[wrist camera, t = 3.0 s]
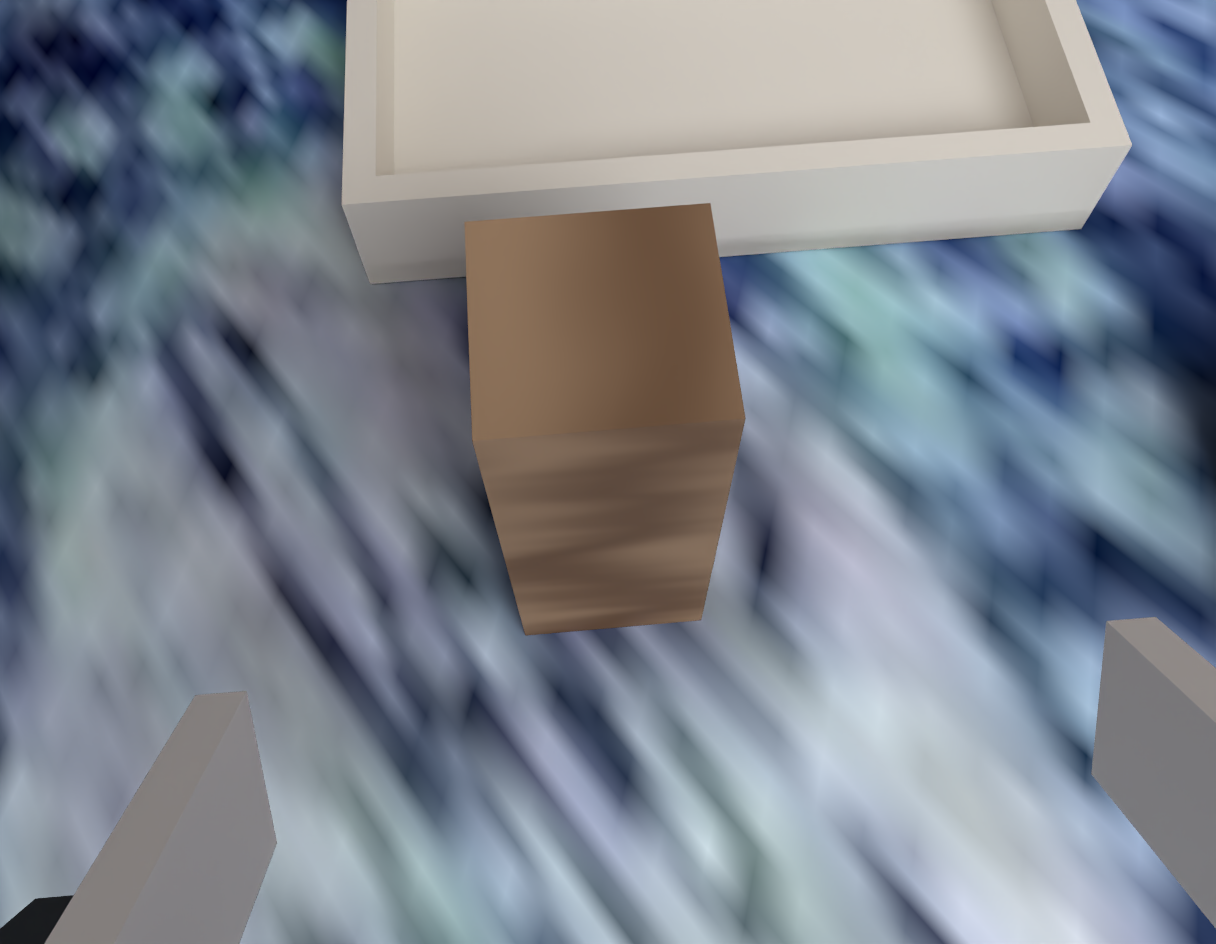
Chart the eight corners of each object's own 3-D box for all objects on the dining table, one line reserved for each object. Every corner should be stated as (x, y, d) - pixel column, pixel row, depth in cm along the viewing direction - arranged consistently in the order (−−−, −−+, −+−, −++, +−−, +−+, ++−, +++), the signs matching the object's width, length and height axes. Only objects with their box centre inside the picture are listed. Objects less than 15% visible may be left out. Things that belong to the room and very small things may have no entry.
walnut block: (525, 635, 30) (472, 440, 19) (516, 476, 32) (464, 221, 22) (700, 620, 30) (745, 418, 20) (680, 463, 33) (710, 203, 22)
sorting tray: (370, 284, 35) (341, 204, 32) (373, -48, 42) (350, -144, 39) (1081, 228, 36) (1131, 145, 33) (970, -89, 43) (1002, -187, 39)
